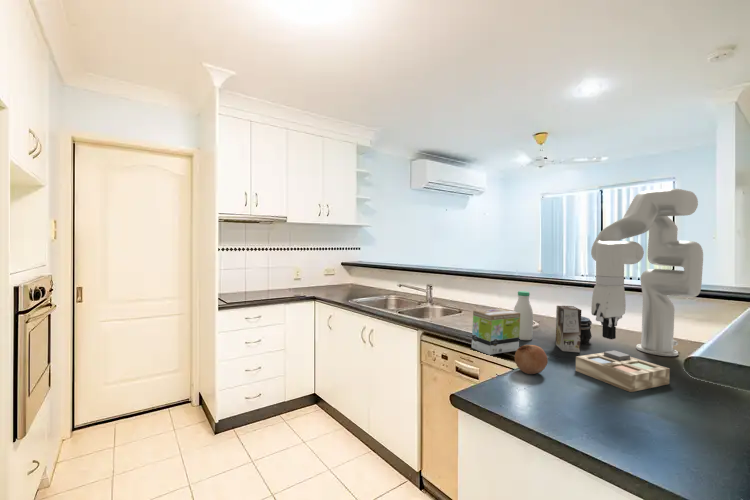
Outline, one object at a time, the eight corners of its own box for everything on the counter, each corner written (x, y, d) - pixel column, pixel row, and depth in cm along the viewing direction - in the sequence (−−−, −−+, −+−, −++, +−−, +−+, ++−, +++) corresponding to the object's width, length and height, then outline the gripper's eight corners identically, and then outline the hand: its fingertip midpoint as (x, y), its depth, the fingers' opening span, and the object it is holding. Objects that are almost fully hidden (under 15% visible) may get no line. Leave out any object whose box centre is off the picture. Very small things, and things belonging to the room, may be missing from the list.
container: (580, 347, 139) (581, 322, 139) (550, 339, 150) (550, 315, 150) (598, 343, 146) (598, 319, 146) (567, 335, 157) (568, 313, 157)
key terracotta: (621, 375, 107) (622, 365, 107) (639, 381, 102) (639, 371, 102) (610, 377, 105) (610, 367, 105) (627, 383, 100) (628, 373, 100)
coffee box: (580, 352, 132) (582, 309, 132) (562, 351, 133) (563, 308, 133) (572, 345, 141) (573, 305, 141) (554, 344, 142) (556, 304, 142)
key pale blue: (598, 367, 114) (598, 357, 114) (613, 372, 109) (613, 362, 109) (587, 368, 112) (587, 359, 112) (602, 374, 107) (602, 364, 107)
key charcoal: (614, 359, 117) (614, 350, 116) (629, 364, 112) (630, 355, 112) (603, 361, 115) (604, 351, 115) (619, 366, 110) (619, 356, 110)
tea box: (490, 356, 127) (491, 315, 126) (471, 348, 135) (471, 310, 135) (520, 350, 133) (521, 311, 133) (499, 343, 142) (500, 307, 142)
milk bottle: (533, 337, 152) (534, 291, 152) (530, 341, 146) (532, 293, 145) (514, 334, 156) (515, 289, 156) (511, 338, 150) (512, 291, 149)
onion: (521, 384, 109) (509, 356, 108) (520, 366, 118) (509, 340, 116) (554, 378, 105) (542, 349, 104) (550, 360, 114) (539, 333, 112)
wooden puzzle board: (611, 364, 120) (612, 351, 119) (669, 384, 104) (669, 368, 104) (575, 370, 113) (576, 356, 113) (630, 392, 97) (631, 375, 97)
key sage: (638, 372, 110) (638, 362, 110) (655, 378, 105) (656, 368, 105) (627, 374, 108) (627, 364, 108) (644, 380, 103) (645, 370, 103)
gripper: (613, 278, 119) (613, 332, 120) (582, 281, 113) (581, 337, 114) (637, 281, 112) (636, 338, 113) (604, 284, 106) (604, 344, 107)
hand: (608, 337), depth 113 cm, fingers closed
